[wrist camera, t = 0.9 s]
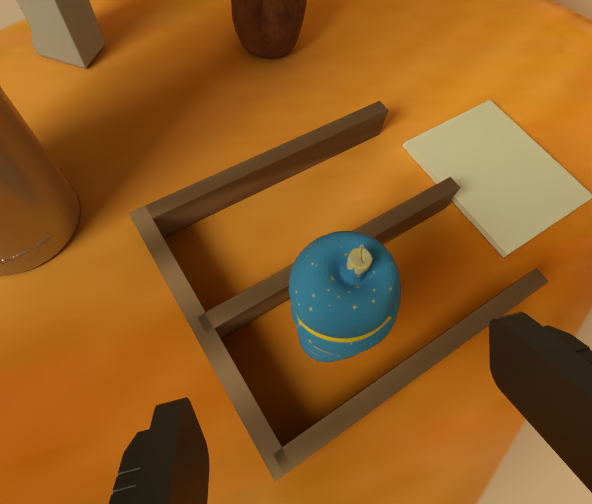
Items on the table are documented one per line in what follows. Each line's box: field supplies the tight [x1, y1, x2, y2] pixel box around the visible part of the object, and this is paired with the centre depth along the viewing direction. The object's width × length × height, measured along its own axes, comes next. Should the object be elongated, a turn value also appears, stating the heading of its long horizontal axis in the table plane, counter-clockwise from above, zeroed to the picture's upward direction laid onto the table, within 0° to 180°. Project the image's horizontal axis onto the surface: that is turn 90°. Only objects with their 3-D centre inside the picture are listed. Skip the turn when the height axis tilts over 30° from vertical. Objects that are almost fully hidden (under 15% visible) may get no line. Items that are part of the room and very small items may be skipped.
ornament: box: [289, 231, 401, 362], centre depth 22 cm, size 5×5×15 cm
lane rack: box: [129, 101, 549, 481], centre depth 30 cm, size 20×23×3 cm
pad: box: [402, 100, 592, 258], centre depth 36 cm, size 13×11×1 cm
